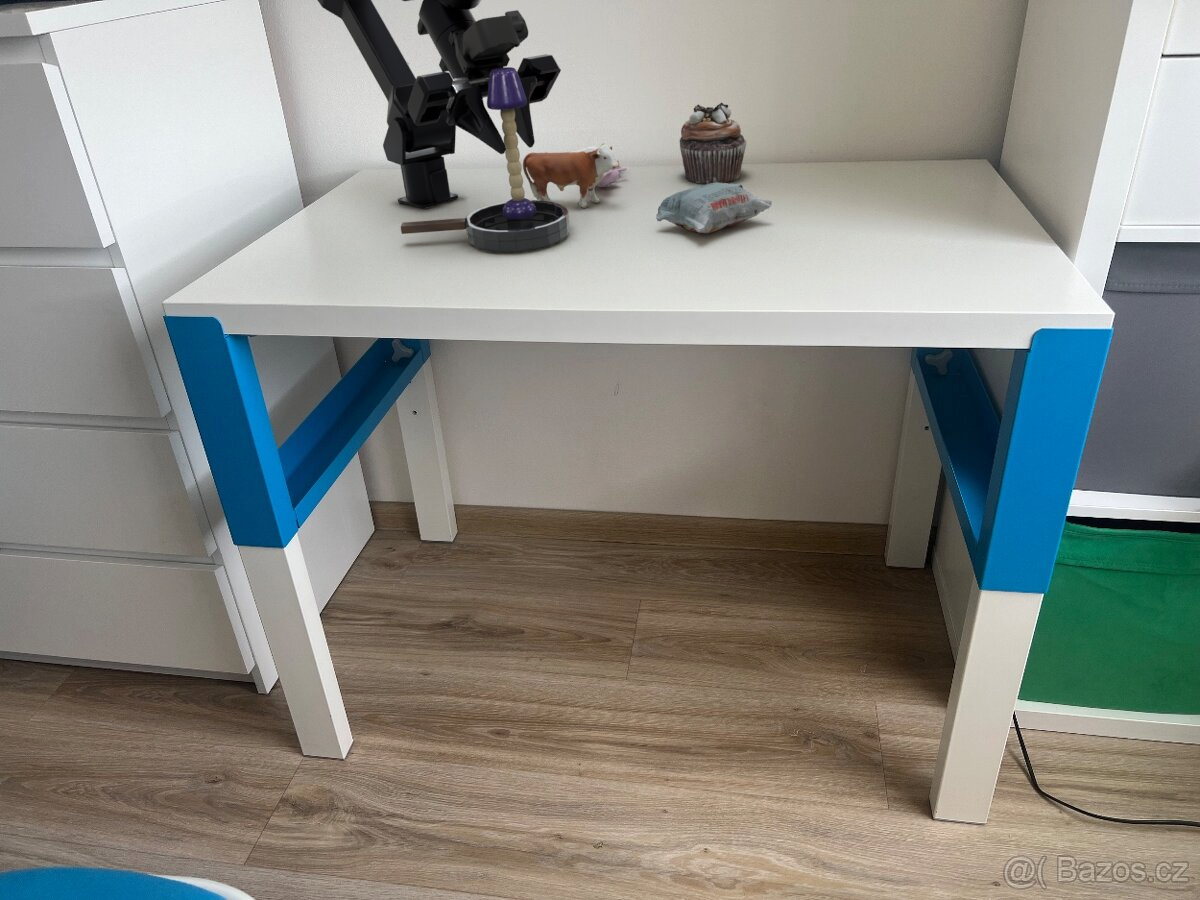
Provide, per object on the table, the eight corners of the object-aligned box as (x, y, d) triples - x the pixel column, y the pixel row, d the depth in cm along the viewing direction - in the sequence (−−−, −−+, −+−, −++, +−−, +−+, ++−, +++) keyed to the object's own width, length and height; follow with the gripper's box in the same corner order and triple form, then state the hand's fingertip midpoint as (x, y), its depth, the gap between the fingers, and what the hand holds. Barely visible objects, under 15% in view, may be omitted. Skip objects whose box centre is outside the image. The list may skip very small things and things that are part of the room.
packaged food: (770, 223, 109) (772, 183, 106) (699, 246, 103) (698, 205, 101) (722, 210, 115) (723, 172, 112) (652, 231, 109) (651, 191, 107)
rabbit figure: (591, 181, 135) (571, 193, 122) (590, 140, 133) (569, 148, 119) (631, 181, 134) (615, 192, 120) (630, 140, 132) (614, 147, 118)
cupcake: (683, 187, 125) (682, 114, 119) (677, 170, 133) (676, 100, 128) (750, 183, 124) (752, 109, 119) (740, 166, 133) (741, 96, 127)
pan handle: (467, 225, 110) (465, 217, 109) (465, 229, 108) (464, 221, 108) (403, 230, 110) (402, 222, 109) (401, 234, 108) (400, 226, 108)
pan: (447, 242, 110) (443, 220, 109) (521, 215, 118) (518, 194, 116) (516, 261, 102) (513, 238, 101) (590, 232, 110) (589, 210, 109)
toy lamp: (492, 216, 108) (474, 71, 99) (513, 206, 111) (499, 64, 102) (523, 221, 105) (509, 73, 97) (545, 210, 109) (532, 66, 100)
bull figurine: (618, 211, 117) (615, 148, 113) (523, 209, 120) (517, 148, 116) (625, 201, 121) (623, 140, 116) (533, 200, 124) (527, 140, 119)
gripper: (401, -5, 93) (467, 118, 91) (545, -21, 102) (607, 90, 101) (382, 67, 103) (442, 180, 101) (515, 46, 112) (572, 149, 110)
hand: (518, 148), depth 103 cm, fingers closed on toy lamp, 4 cm apart
